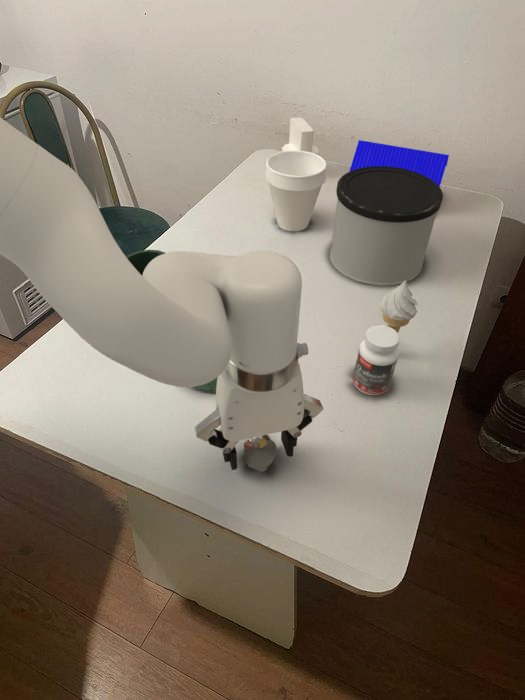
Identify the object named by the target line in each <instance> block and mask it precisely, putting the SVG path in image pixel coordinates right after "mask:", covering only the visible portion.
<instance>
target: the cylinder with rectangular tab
mask: <svg viewBox="0 0 525 700" xmlns="http://www.w3.org/2000/svg"><path fill="white" fill-rule="evenodd" d="M314 133H315V131H314V129H313V127H311V125H310V124H309V123H308V122H307V121H306V120H305V119H304V118H303V116H302V117H300V116H299V117H298V116H297V117H291V118H289V135H288V136H289V137H288V139H289V140H288V142H287V143H285V144H284V145H283V146H282V147H281V152H283V151H290V150H299V151H307V152H311V153H314V154H317V155H319V148H318V147H317V146H316V145H315V144H314V135H315V134H314Z"/></svg>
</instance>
